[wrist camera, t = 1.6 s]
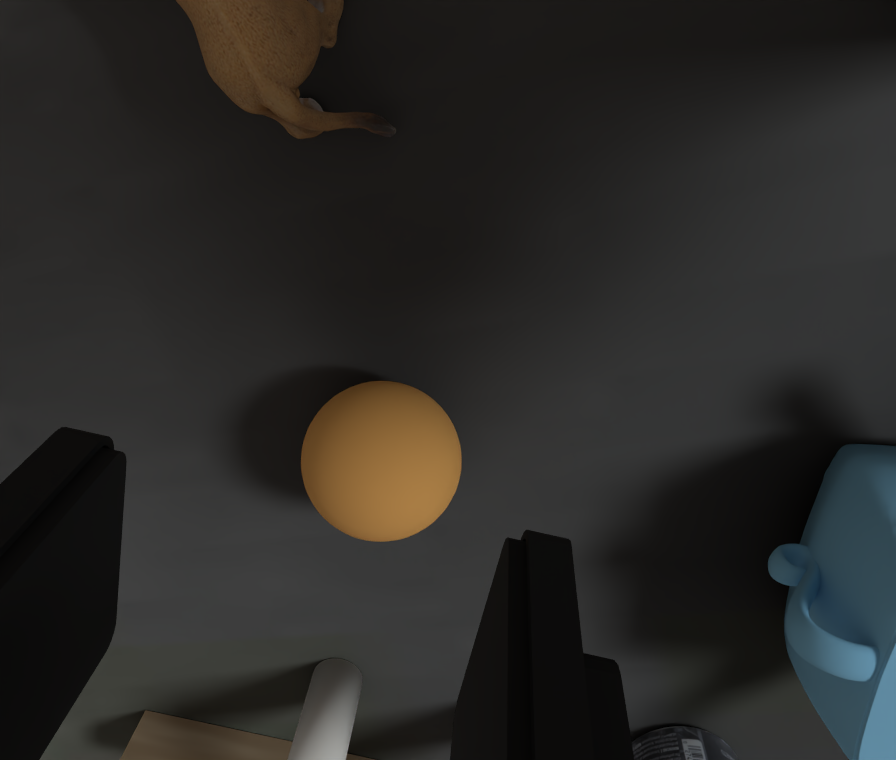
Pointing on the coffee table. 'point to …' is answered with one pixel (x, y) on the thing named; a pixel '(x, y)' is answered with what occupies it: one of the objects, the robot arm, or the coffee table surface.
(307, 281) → the coffee table surface
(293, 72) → the lion figurine
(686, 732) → the pill bottle
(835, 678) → the teapot
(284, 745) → the tan wooden bar
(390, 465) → the ball
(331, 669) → the white pin
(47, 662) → the robot arm
